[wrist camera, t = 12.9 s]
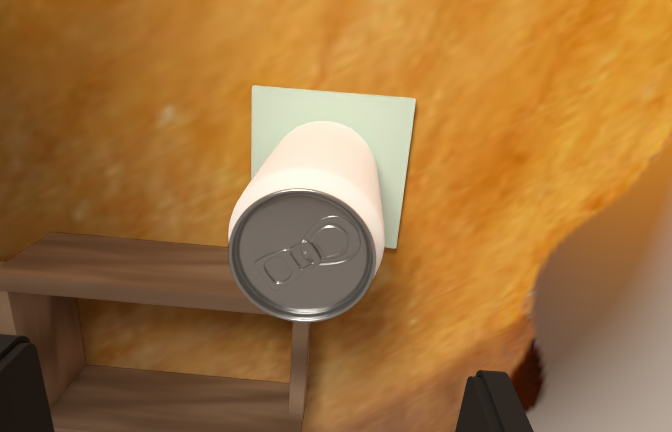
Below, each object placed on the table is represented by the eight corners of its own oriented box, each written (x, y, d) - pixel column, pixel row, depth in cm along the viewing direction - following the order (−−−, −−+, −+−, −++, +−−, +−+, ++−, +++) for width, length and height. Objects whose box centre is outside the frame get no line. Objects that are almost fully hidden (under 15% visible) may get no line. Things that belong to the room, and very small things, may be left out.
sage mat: (254, 85, 28) (251, 86, 27) (414, 98, 28) (415, 99, 27) (252, 232, 31) (250, 236, 31) (395, 244, 31) (396, 248, 30)
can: (395, 190, 29) (418, 289, 18) (306, 237, 30) (276, 355, 19) (343, 98, 27) (331, 144, 16) (251, 152, 29) (181, 229, 17)
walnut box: (51, 232, 32) (-14, 274, 26) (315, 254, 32) (306, 302, 26) (74, 374, 36) (23, 436, 31) (306, 395, 36) (296, 461, 30)
